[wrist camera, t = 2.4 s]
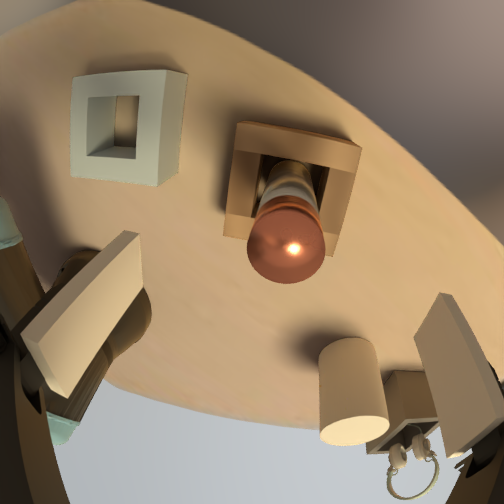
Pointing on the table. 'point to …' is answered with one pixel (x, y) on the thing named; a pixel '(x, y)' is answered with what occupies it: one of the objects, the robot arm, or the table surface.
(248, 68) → the table surface
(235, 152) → the mount
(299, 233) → the pin
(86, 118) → the frame
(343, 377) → the cream cylinder
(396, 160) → the table surface
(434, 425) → the box
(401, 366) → the table surface
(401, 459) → the headphones
